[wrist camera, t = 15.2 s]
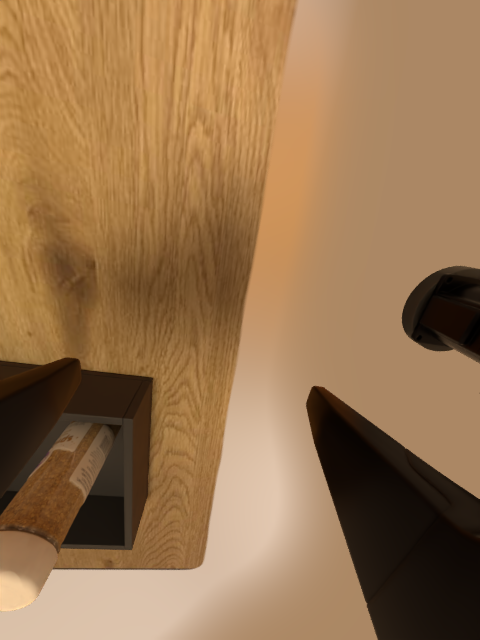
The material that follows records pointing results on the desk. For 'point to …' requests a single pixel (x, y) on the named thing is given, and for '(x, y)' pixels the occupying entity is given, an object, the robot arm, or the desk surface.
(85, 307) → the desk surface
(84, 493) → the sprinkles bottle
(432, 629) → the robot arm
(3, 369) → the dark grey tray
